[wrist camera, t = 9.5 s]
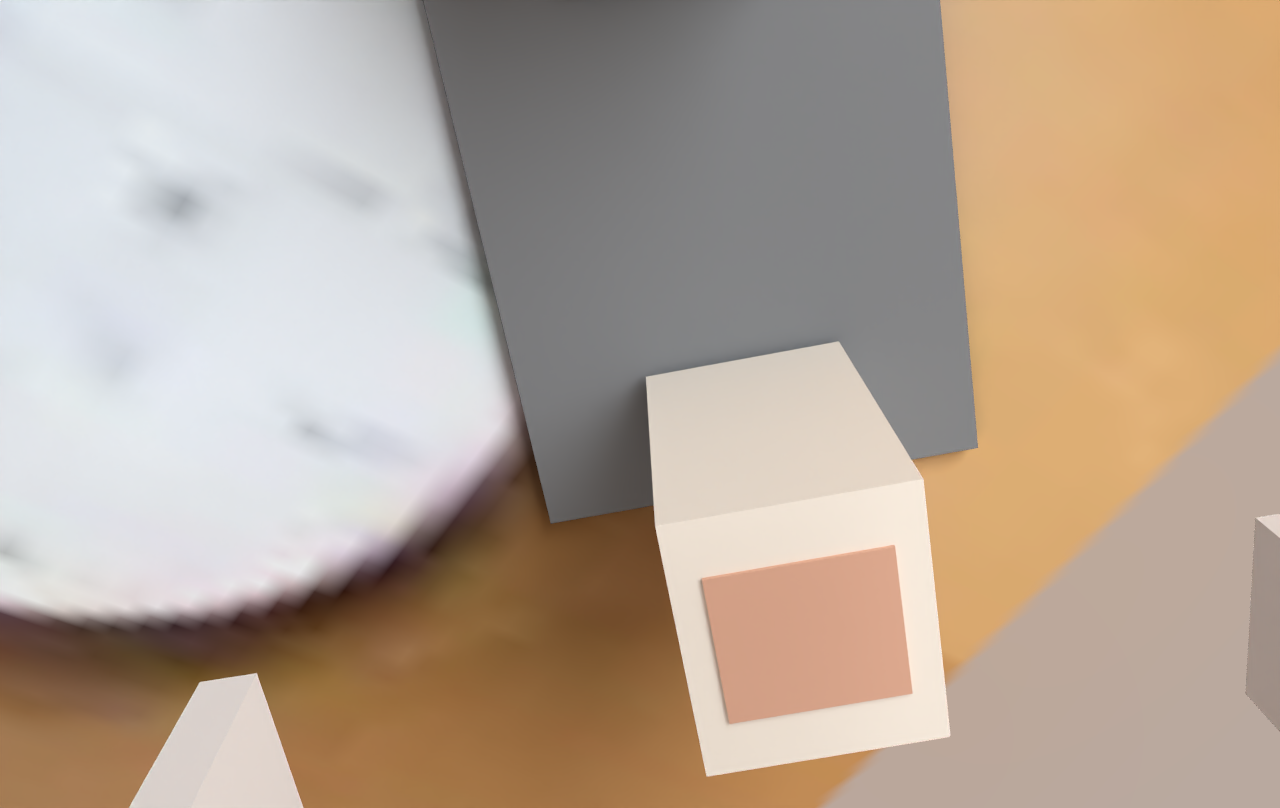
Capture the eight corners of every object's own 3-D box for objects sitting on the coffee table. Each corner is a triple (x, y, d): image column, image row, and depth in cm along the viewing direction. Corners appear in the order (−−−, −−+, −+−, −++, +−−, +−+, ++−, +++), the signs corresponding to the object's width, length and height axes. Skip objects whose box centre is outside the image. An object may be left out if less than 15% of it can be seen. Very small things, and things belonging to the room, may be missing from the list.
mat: (552, 515, 36) (550, 523, 36) (292, -555, 26) (284, -567, 26) (972, 440, 36) (977, 447, 35) (874, -691, 25) (880, -706, 25)
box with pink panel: (684, 572, 36) (707, 779, 27) (645, 376, 34) (655, 528, 24) (864, 541, 36) (951, 739, 26) (838, 341, 33) (924, 480, 24)
